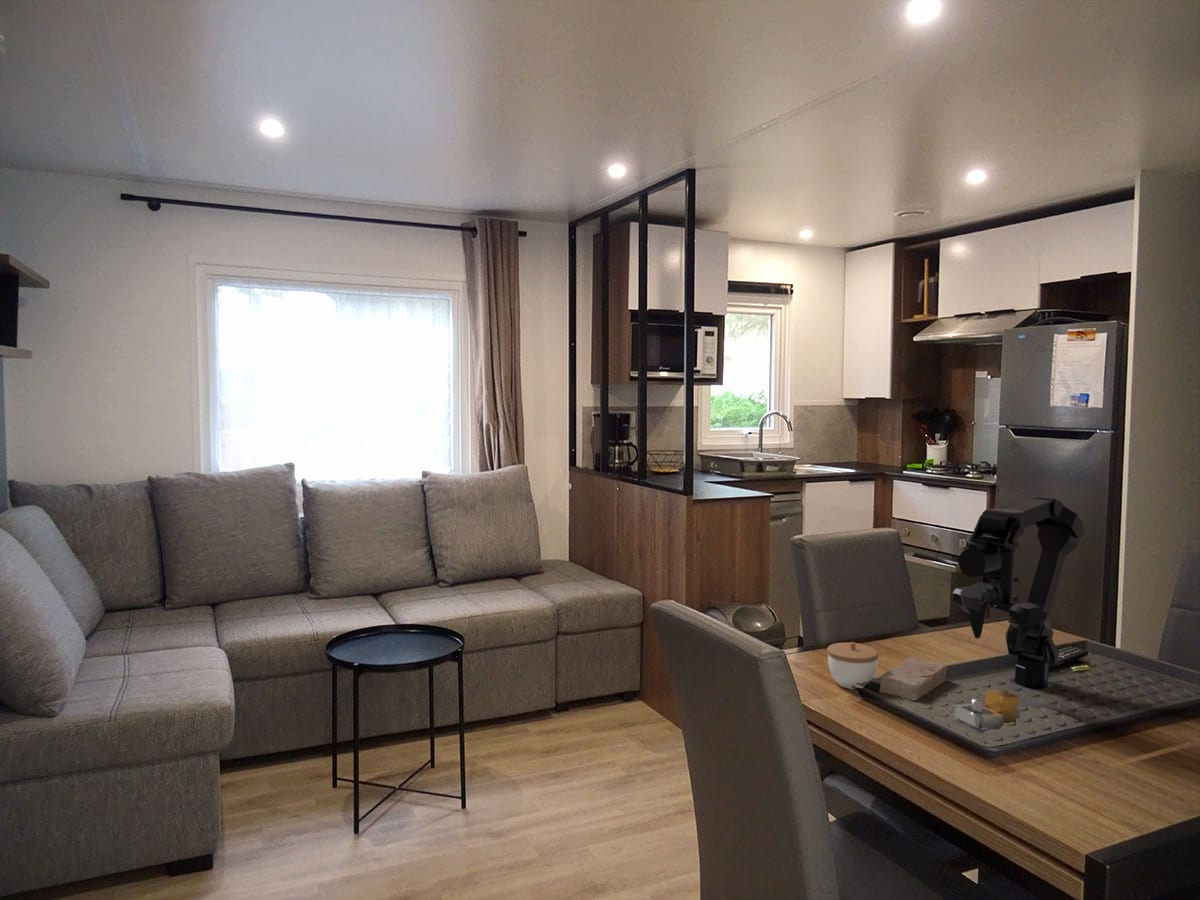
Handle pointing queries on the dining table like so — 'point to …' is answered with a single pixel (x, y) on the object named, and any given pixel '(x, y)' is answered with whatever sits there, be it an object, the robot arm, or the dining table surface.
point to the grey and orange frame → (990, 710)
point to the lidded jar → (852, 663)
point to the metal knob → (977, 709)
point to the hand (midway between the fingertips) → (995, 644)
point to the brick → (913, 678)
